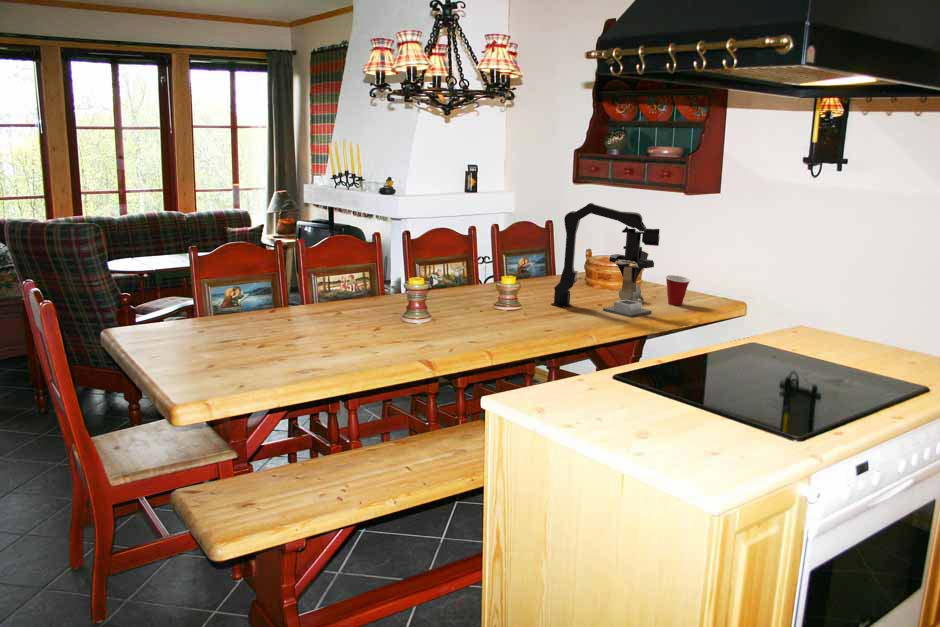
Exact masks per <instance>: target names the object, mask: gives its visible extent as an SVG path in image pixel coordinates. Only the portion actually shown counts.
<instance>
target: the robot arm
mask: <svg viewBox="0 0 940 627" xmlns="http://www.w3.org/2000/svg"><path fill="white" fill-rule="evenodd" d="M588 215H596V216H598V217H603V218H606V219H611V220H614V221H618V222H620V223H621V224H623V225H625V227H624V229H623V230H622V231H621V232H622V233H624V234H625V233H626V236H625V245H624V246H623V249H624V254H619V253H616V254H611V255H610V256H609V260H608V262H610V263H616V264H615V265H616V266H617V267H618V269H619V271H620V273H621V276H622V277H623V272H624V267H628V266H630V264H632V265H634V266H631V267H632V281H633V283H635V282H636V279H637V280H638V277H639V275H640V273H641V271H642V270H643V269H649V268H650V269H652V268H655V262H654V260H652V259H648V257H649V253H648V252H646V251H644V250H643V247H642V246H641V242H642V243H643V244H644V246H654V247H659V246H660V238H661V237H660V236H661V235H660V230H661V229H660V228H647V226H646V225H645V223H644V222H643V216H642V214H641V213H640V212H634V211H621V210H618V209H613V208H609V207H606V206H602V205H599V204H594V203H593V202H589V203H588V204H586V205H585V206H582V208H579V209H578V210H577V211H576V210H572V211H569V212H568V213H566V214H565V215H564V218H563V219H564V228H565V234H566V235H565V237H566V238H565V249H564V262H563V263H564V264H563V265H564V266H563V269H562V272H561V276H560V279H559V282H558V283H557V285H555V286H554V287H553V289H554V294H553V295H554V299H553V303H550V305H552V306H555V307H558V308H567V307H572V306H573V304H571V303H570V302H571V290H570V289H572V288H573V286H574V285H575V284H576V282H577V281H578V270H575V267H574V266H575V255H576V242H577V241H576V239H577V232H578V229H579V226H580V222H581V219H584V218H585V217H587V216H588ZM629 227H630V228H629ZM641 236H642V237H641Z"/></svg>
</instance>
